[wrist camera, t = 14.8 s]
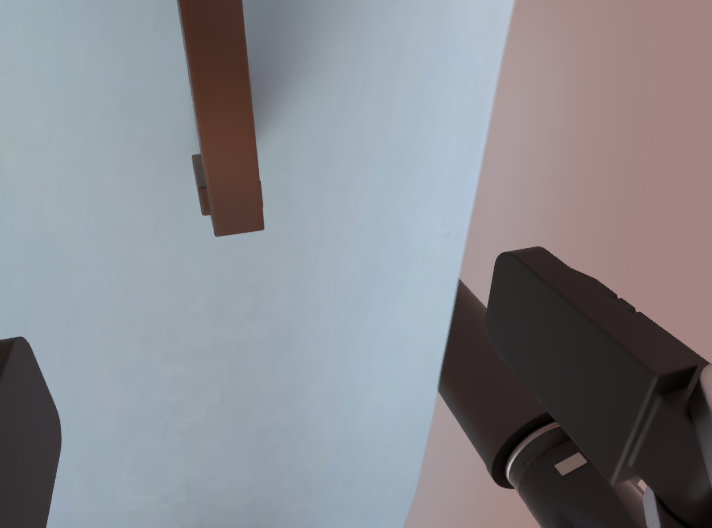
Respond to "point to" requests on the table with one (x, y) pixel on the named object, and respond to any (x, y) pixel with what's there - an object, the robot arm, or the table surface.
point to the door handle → (222, 115)
